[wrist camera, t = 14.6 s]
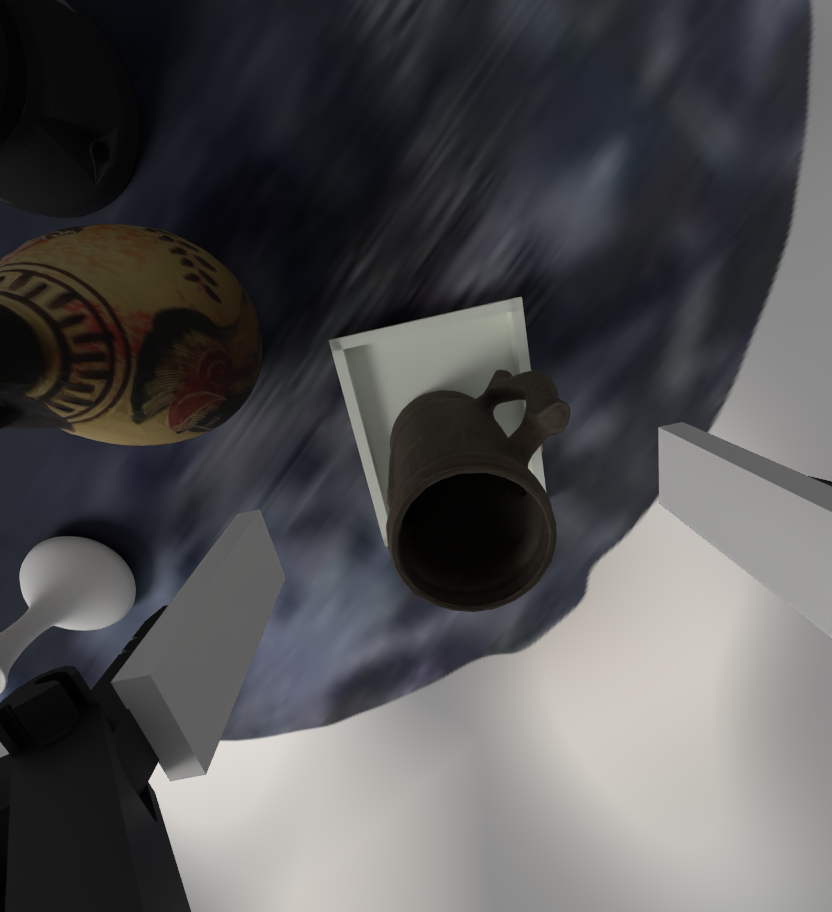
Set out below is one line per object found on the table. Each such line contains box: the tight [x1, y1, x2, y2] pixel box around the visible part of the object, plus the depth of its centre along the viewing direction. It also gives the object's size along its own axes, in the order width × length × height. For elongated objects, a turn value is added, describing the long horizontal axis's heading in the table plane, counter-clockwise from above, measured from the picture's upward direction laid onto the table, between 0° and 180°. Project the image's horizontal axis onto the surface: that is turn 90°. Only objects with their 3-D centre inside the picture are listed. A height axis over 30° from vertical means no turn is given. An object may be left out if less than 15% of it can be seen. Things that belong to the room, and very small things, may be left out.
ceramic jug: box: [0, 224, 263, 446], centre depth 25 cm, size 17×15×30 cm
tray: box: [329, 297, 546, 547], centre depth 42 cm, size 17×21×2 cm
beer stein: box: [386, 369, 570, 612], centre depth 33 cm, size 15×11×20 cm
